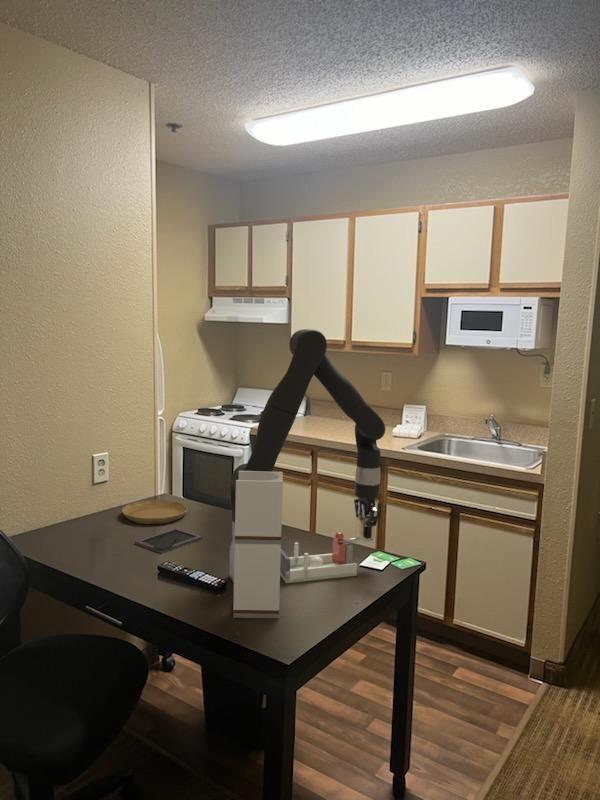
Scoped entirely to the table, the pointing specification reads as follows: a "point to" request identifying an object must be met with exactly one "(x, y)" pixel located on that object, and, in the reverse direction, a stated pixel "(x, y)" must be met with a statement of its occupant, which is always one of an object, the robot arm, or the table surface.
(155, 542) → the picture frame
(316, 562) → the ball
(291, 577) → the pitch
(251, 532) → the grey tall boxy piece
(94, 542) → the table surface
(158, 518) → the plant saucer
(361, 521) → the striker
